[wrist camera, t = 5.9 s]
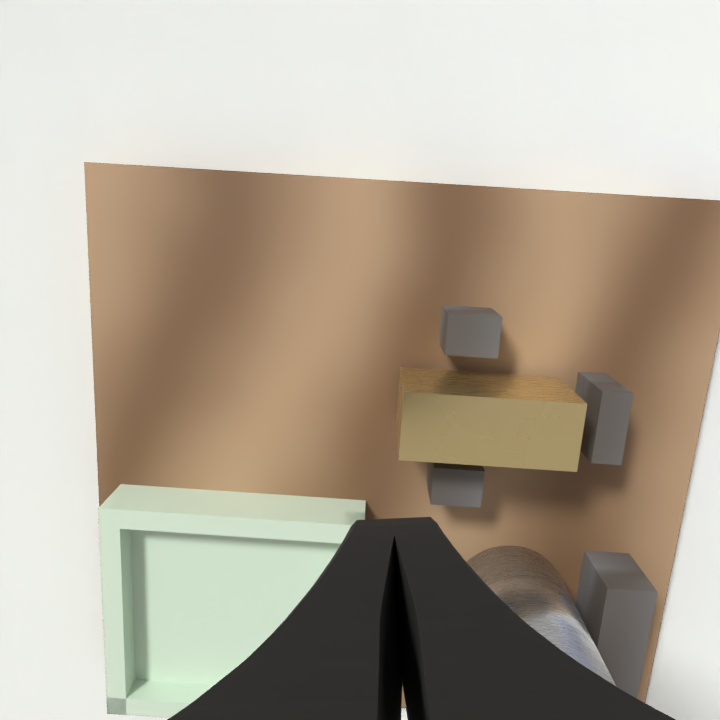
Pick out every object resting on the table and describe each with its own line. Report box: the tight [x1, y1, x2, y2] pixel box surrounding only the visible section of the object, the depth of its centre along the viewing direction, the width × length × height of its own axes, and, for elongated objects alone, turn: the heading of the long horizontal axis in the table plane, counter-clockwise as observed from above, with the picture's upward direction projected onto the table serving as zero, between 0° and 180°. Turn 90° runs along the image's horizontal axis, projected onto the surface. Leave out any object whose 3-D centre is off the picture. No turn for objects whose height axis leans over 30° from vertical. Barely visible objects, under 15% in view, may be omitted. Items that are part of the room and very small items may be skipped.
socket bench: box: [84, 162, 720, 708], centre depth 18 cm, size 18×17×3 cm
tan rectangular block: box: [396, 367, 587, 472], centre depth 17 cm, size 4×2×2 cm, turn 87°
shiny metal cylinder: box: [467, 546, 616, 686], centre depth 17 cm, size 4×4×5 cm
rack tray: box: [98, 484, 366, 718], centre depth 19 cm, size 8×7×2 cm
